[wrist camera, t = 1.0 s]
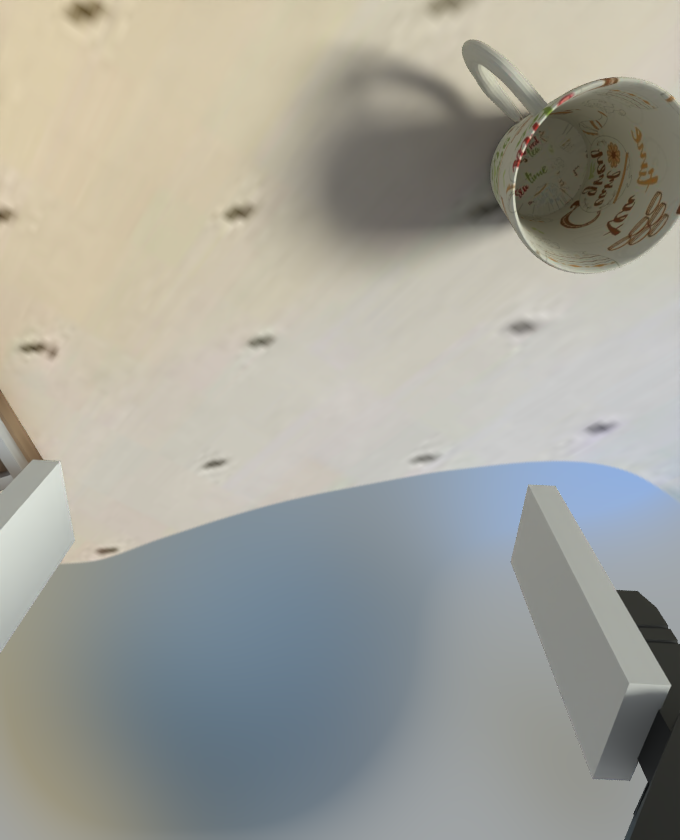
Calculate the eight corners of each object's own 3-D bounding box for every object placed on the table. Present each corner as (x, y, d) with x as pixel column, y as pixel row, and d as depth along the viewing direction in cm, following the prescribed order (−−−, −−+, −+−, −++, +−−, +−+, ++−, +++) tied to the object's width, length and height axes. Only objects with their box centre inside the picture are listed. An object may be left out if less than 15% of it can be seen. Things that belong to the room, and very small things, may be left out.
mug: (530, 266, 38) (585, 309, 29) (392, 120, 35) (407, 119, 26) (638, 163, 35) (736, 175, 27) (500, -8, 32) (560, -59, 23)
